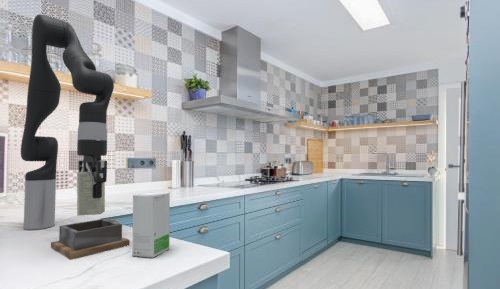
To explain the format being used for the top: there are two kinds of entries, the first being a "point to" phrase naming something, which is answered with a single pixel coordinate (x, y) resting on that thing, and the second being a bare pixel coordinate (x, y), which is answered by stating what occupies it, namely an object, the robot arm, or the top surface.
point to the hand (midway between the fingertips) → (91, 196)
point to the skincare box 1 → (88, 196)
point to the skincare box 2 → (151, 224)
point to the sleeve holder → (89, 238)
